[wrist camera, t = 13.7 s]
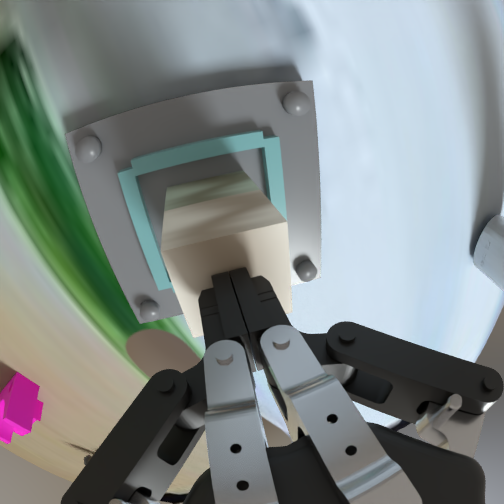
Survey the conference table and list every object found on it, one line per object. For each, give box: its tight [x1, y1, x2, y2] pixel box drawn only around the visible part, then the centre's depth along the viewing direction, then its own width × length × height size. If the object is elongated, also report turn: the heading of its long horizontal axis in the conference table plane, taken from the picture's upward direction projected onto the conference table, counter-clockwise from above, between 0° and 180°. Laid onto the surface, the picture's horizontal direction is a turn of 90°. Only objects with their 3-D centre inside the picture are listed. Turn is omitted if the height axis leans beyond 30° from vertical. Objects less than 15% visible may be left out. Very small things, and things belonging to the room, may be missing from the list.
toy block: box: [0, 372, 43, 444], centre depth 23 cm, size 15×6×8 cm, turn 124°
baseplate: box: [65, 81, 321, 324], centre depth 19 cm, size 16×16×2 cm
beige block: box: [161, 171, 292, 338], centre depth 15 cm, size 5×5×8 cm
